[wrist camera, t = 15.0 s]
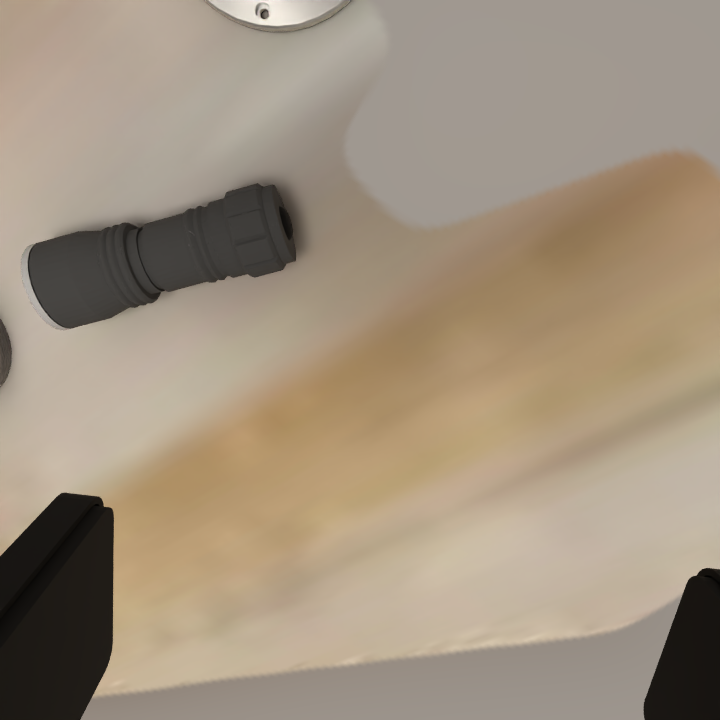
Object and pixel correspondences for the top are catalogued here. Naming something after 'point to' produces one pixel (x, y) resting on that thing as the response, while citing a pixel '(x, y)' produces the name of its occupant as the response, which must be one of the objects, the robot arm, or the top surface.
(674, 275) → the top surface
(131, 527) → the top surface
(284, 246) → the flashlight
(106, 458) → the top surface
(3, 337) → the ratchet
